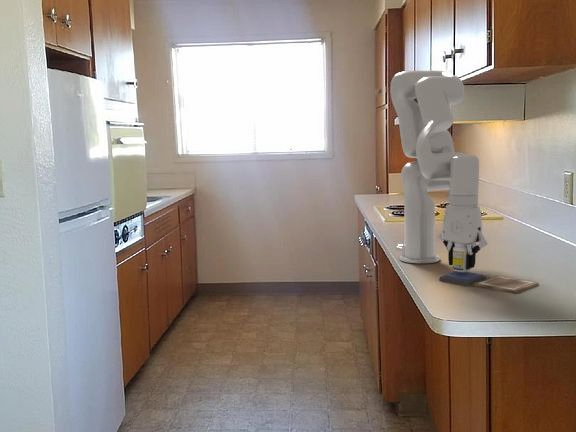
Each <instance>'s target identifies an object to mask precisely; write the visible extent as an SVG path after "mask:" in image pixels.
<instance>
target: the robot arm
mask: <svg viewBox="0 0 576 432" xmlns="http://www.w3.org/2000/svg"><path fill="white" fill-rule="evenodd" d="M389 92H390V98H391V103H392V105H393V108H394V110H395V113H396V115H397V118H398V125H399V132H400V133H399V134H400V140H401V147H402V151H403V154H404V156H405V157H407V158H409V159H417V160H416V161H410V162H407V163H406V164H405V165H404V166H403V167H402V169H401V174H400V177H401V183H402V184H401V185H402V190H403V201H404V203H403V204H404V206H403V207H404V211H403V212H404V217H403V218H404V229H403V230H404V234H403V235H404V236H403V237H404V242H403V243H404V244H399V243H398V244H397V246H396V247H395V251H398V252H401V254H400V255H399V260H400V261H402V262H404V263H409V264H433V263H434V264H435V263H437V262H439V261H440V259H441V258H440V257H441V256H440V255H438V254H436V253H435V251H436V247H435V246H436V245H435V244H436V243H435V242H436V205H435V202H434V200H433V198H432V197H431V196H430V194H429V192H433V191H449V192H448V193H449V194H446V196H445V199H446V200H447V201H448V204H446V206H445V209H444V214H443V219H442V228H441V232H440V233H439V235H438V238H439V240H440V241H441V242H442V243H443V245H444V246H445V248H446V251H448V265H449V266H453V247H455V244H454V243H455V242H456V243H462V244H467V249H468V254H467V255H466V268H467V269H470V270H471V269H473V268H475V265H476V258H477V257H476V254H478V253H479V251H481V249H483V248H484V247H486V246H488V242H487V240H486V238H485V237H484V235H483V221H482V220H483V219H482V218H483V217H482V212H481V207H480V206H479V184H480V182H479V179H480V178H479V177H480V176H479V175H480V159H479V157H478V156H477V155H473V154H472V155H471V154H467V153H465V152H455V145H454V141H453V137H452V135H451V133H450V131H449V130H448V129H449V128H450V129H451V126H452V125H453V124H454V120H455V119H454V115H453V112H452V109H451V106H452V105H454V106H455V105H458V104H460V103H462V101H463V100H464V98H465V86H464V83H463V81H462V80H461V78H460V77H458V76H457V75H454V74H452V73H449V72H446V71H443V70H405V71H404V70H403V71H401V72H397V73H396V74H394V76H392V79H391V81H390V91H389ZM414 99H416V101H415V100H414ZM477 243H478V244H477Z"/></svg>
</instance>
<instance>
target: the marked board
mask: <svg viewBox="0 0 576 432" xmlns="http://www.w3.org/2000/svg"><path fill="white" fill-rule="evenodd" d="M539 284H540V283H539V282H535V281H530V280H525V279H519V278H512V277H507V276H500V275H495V276H492V277H489V278H488V277H487V279H485V280H482V281H479V282H476V283H473V285H472V286H473V287H480V288H483V289H489V290H495V291H498V292H500V291H501V292H505V293H509V294H515V295H516V294H518V293H521V292H523V291H527V290H529V289H531V288H534V287H537V286H539Z"/></svg>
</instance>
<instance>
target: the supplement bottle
mask: <svg viewBox="0 0 576 432" xmlns="http://www.w3.org/2000/svg"><path fill="white" fill-rule="evenodd" d="M454 244H455V247H453V265H452V270H453V272H455V271H457V272H470V271H471V268H470V269H467V268H466V255H467V254H468V249H467V244H462V243H456V242H455V243H454Z"/></svg>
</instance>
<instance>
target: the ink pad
mask: <svg viewBox="0 0 576 432" xmlns="http://www.w3.org/2000/svg"><path fill="white" fill-rule="evenodd" d="M485 279H488V277H487V275H484V274H482V273H476V272H470V271H468V272H457V271H453V272H452V271H451V272H449V273H446V274H443V275H440V276H439V282H444V283H450V284H455V285H460V286H465V287H470V286H473V283H476V282H479V281H482V280H485Z"/></svg>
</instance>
